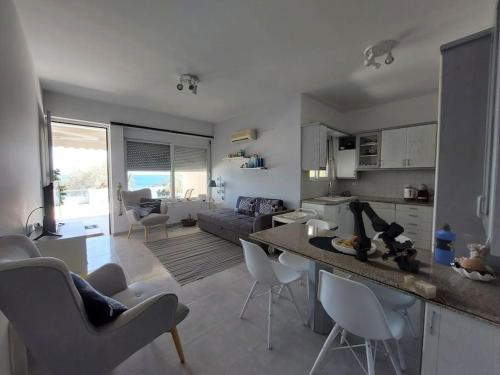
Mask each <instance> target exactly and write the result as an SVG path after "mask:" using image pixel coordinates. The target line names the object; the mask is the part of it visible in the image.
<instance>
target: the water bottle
mask: <svg viewBox="0 0 500 375" xmlns="http://www.w3.org/2000/svg"><path fill="white" fill-rule="evenodd" d="M440 228H441V229H440V230H436V231H435V241H436V244H435V248H434V249H435V250H434V251H435V252H434V253H435V254H434V261H435V262H436V263H437V264H440V265H446V266H451V265H450V263H451V262H452V261H453V260H454V259H455V257H456V249H455V244H456V240H457V234H456V233H455V232H453V231H451V225H450V224H449V223H446V222H445V223H443V224H442V225H441V227H440Z"/></svg>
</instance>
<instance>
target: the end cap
mask: <svg viewBox="0 0 500 375" xmlns="http://www.w3.org/2000/svg"><path fill="white" fill-rule="evenodd" d="M409 263H410V267H411V271H410V272H413V273H417V274H419V273H420V272H421V270H420V269H421V264H422V262H421V260H419V259H416V258H415V259H414V260H411V259H409ZM396 265H397V268H399V269H403V270H405V271H408V270H407V269H405V268H404V267H402V266H401V265H399V264H398V263H396Z"/></svg>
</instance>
